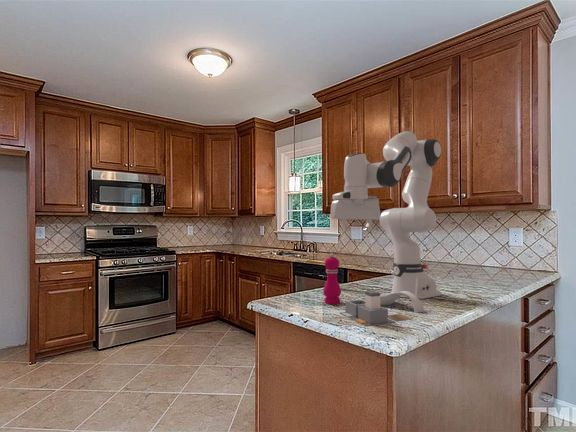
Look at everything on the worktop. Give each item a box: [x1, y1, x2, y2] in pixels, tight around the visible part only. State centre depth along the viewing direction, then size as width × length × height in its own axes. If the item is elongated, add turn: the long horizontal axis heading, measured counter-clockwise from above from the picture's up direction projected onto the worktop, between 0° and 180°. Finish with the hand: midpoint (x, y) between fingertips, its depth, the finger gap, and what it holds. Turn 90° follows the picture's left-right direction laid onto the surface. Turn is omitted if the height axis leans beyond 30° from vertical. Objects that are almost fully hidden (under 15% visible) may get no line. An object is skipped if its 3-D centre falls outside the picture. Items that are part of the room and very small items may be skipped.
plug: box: [364, 290, 381, 310], centre depth 114 cm, size 3×3×9 cm
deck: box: [388, 313, 413, 322], centre depth 118 cm, size 7×7×1 cm
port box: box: [339, 299, 396, 327], centre depth 118 cm, size 11×16×5 cm
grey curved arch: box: [379, 291, 424, 314], centre depth 134 cm, size 24×12×7 cm, turn 37°
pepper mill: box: [322, 252, 342, 305], centre depth 144 cm, size 7×7×20 cm
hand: (356, 231), depth 134 cm, fingers open, 8 cm apart
